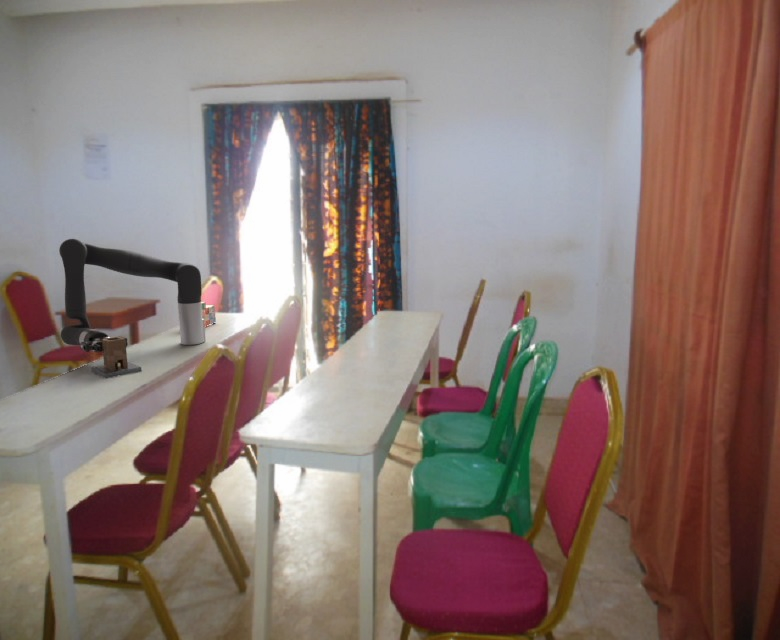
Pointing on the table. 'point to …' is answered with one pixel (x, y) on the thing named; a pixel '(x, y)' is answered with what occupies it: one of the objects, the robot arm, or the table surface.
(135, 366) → the base plate
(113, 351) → the sleeve
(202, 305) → the stack of blocks
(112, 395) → the table surface
